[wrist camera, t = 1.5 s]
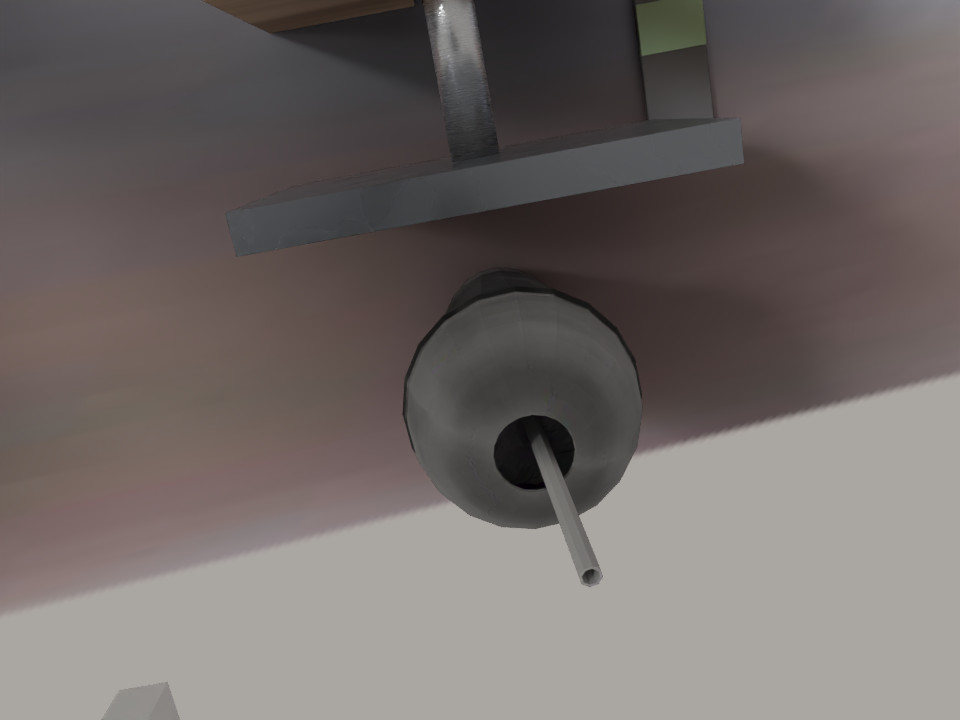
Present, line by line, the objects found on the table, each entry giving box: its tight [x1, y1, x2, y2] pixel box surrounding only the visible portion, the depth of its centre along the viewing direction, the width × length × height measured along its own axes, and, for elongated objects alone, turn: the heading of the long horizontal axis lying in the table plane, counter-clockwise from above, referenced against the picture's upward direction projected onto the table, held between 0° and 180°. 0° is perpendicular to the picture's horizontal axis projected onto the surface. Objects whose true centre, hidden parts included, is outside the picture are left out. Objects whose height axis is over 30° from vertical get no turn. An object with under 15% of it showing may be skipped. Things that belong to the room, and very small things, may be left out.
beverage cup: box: [403, 268, 642, 587], centre depth 27 cm, size 7×7×20 cm
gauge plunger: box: [225, 0, 744, 257], centre depth 26 cm, size 10×16×10 cm, turn 100°
